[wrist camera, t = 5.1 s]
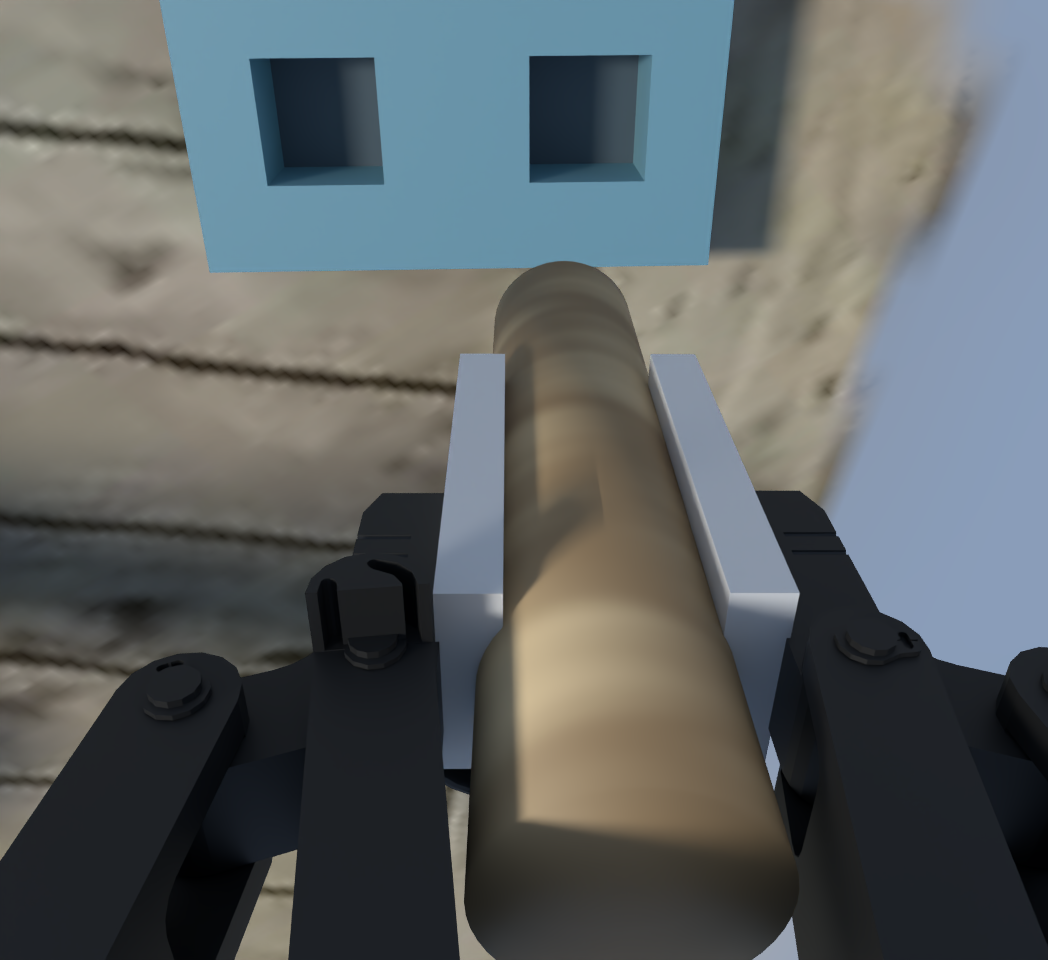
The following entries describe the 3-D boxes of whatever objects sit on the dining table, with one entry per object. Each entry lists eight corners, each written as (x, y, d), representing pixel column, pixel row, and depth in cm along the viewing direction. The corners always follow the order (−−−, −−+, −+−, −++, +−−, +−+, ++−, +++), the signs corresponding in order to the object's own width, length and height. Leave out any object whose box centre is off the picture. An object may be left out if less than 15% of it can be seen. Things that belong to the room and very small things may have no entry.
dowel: (494, 388, 21) (466, 997, 9) (494, 259, 19) (461, 786, 7) (625, 390, 21) (771, 997, 9) (635, 261, 19) (828, 788, 7)
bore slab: (233, 244, 36) (209, 272, 33) (183, -51, 31) (150, -50, 28) (689, 237, 36) (707, 265, 33) (715, -54, 31) (739, -53, 28)
